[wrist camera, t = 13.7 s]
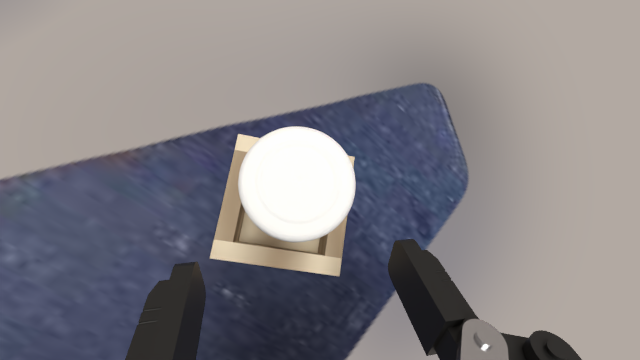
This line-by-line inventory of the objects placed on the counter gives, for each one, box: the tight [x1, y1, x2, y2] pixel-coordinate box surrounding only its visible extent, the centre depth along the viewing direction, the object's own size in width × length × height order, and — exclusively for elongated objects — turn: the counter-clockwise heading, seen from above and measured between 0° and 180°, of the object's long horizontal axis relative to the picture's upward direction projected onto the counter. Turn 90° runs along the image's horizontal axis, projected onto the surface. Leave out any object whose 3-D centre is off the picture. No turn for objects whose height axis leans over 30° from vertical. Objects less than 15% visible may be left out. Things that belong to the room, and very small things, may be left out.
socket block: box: [210, 134, 355, 276], centre depth 22 cm, size 9×9×4 cm
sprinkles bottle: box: [238, 127, 355, 242], centre depth 17 cm, size 5×4×13 cm
